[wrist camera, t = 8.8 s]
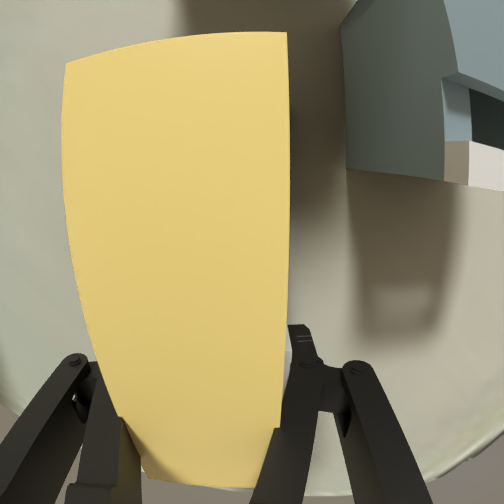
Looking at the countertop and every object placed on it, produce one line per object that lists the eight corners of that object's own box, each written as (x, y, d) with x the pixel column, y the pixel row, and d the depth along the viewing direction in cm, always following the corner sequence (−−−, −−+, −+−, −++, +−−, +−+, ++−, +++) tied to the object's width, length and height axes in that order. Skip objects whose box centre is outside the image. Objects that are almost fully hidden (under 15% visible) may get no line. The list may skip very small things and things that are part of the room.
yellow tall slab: (193, 332, 20) (148, 478, 9) (180, 120, 16) (66, 63, 5) (265, 333, 20) (274, 487, 9) (265, 117, 16) (286, 32, 5)
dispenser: (346, 168, 21) (468, 185, 8) (339, 25, 18) (417, -77, 4) (443, 177, 21) (574, 206, 8) (435, 48, 18) (544, 1, 4)
